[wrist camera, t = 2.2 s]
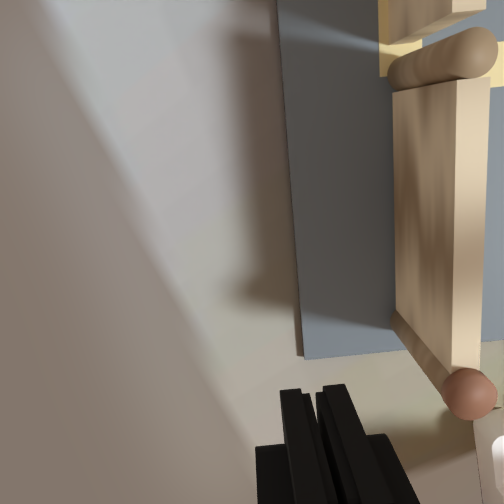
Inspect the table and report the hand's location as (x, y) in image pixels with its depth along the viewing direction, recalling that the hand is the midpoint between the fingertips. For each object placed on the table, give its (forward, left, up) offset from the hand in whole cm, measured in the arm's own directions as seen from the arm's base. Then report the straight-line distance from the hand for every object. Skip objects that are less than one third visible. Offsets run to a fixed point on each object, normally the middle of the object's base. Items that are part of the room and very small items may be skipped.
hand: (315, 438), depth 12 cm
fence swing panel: (-3, +6, -10) cm, 12 cm away
